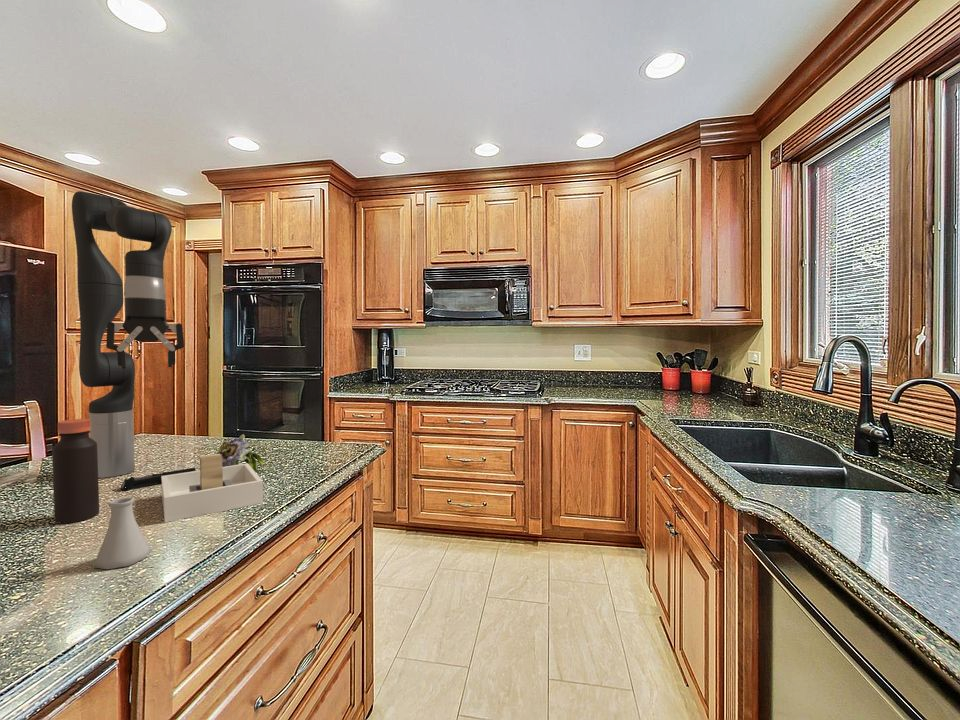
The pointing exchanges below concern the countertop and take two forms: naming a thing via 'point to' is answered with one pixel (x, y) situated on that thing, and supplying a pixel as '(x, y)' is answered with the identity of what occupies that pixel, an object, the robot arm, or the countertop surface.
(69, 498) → the bottle
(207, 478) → the plug
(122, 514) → the flask
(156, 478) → the electric trimmer
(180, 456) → the countertop surface
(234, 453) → the passion flower
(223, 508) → the box
